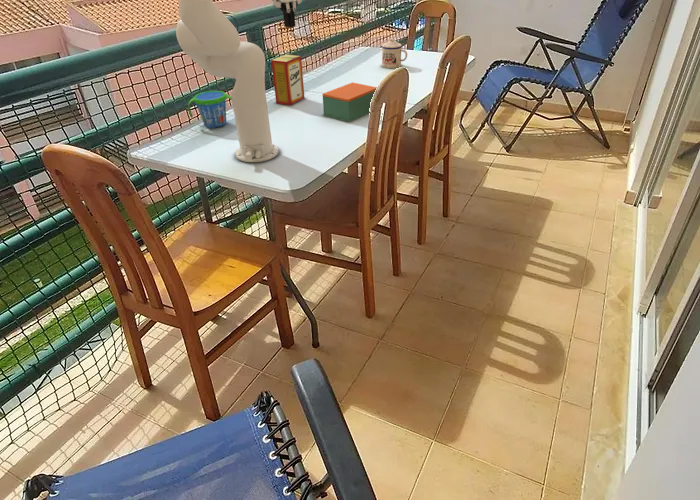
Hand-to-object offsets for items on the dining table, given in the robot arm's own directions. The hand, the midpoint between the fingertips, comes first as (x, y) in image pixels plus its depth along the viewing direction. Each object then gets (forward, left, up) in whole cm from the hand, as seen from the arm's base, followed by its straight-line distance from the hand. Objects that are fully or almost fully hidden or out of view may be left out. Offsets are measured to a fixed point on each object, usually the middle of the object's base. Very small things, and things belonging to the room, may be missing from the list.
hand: (290, 26), depth 148 cm
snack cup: (+6, +29, -31) cm, 43 cm away
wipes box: (+11, -18, -31) cm, 38 cm away
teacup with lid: (+71, -42, -31) cm, 88 cm away
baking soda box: (+28, +4, -31) cm, 42 cm away
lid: (+11, -18, -24) cm, 32 cm away
